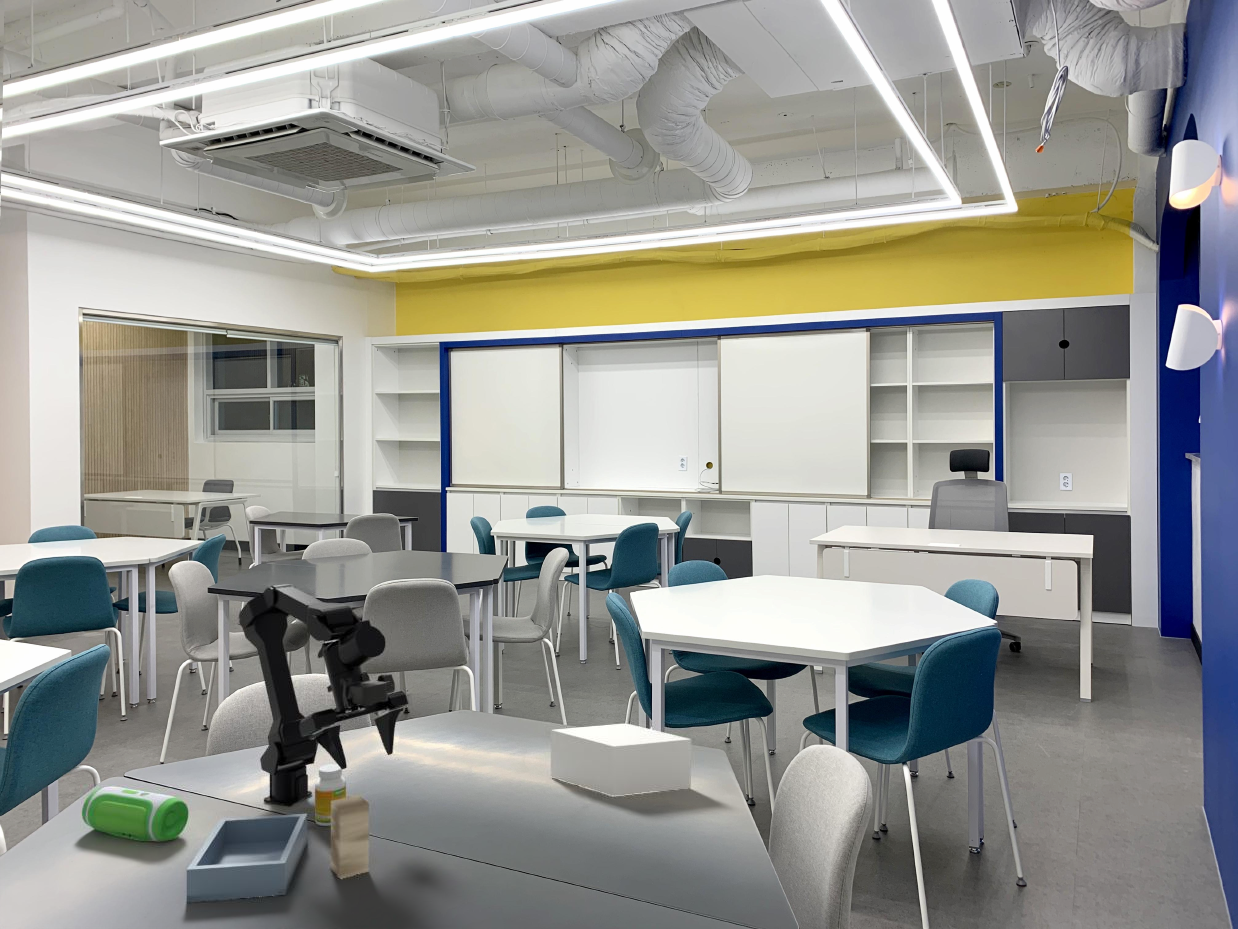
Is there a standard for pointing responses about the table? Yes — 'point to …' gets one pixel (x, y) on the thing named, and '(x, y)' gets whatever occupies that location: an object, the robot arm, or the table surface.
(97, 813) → the speaker
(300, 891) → the table surface
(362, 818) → the tall ash block
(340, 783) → the supplement bottle
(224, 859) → the tote
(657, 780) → the white rectangular block
